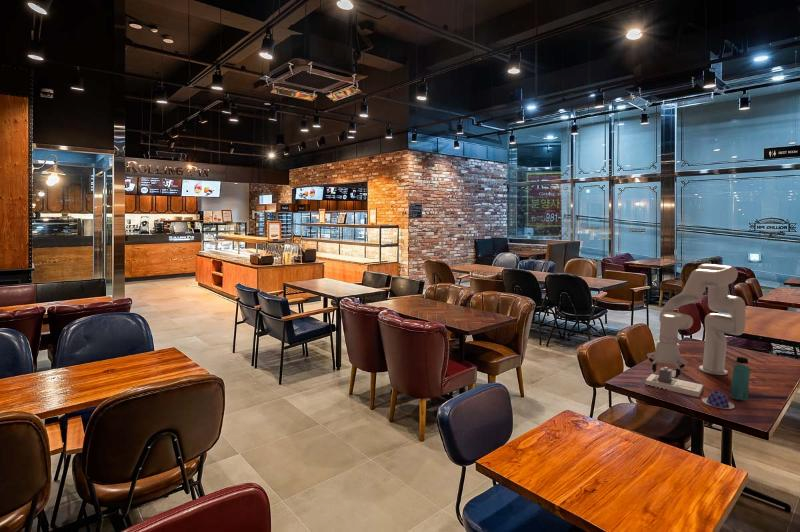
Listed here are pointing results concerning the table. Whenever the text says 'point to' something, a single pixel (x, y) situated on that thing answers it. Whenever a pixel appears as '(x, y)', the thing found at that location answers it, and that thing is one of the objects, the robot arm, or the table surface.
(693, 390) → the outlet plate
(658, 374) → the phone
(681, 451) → the table surface
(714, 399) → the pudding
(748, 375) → the beverage bottle
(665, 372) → the charger
